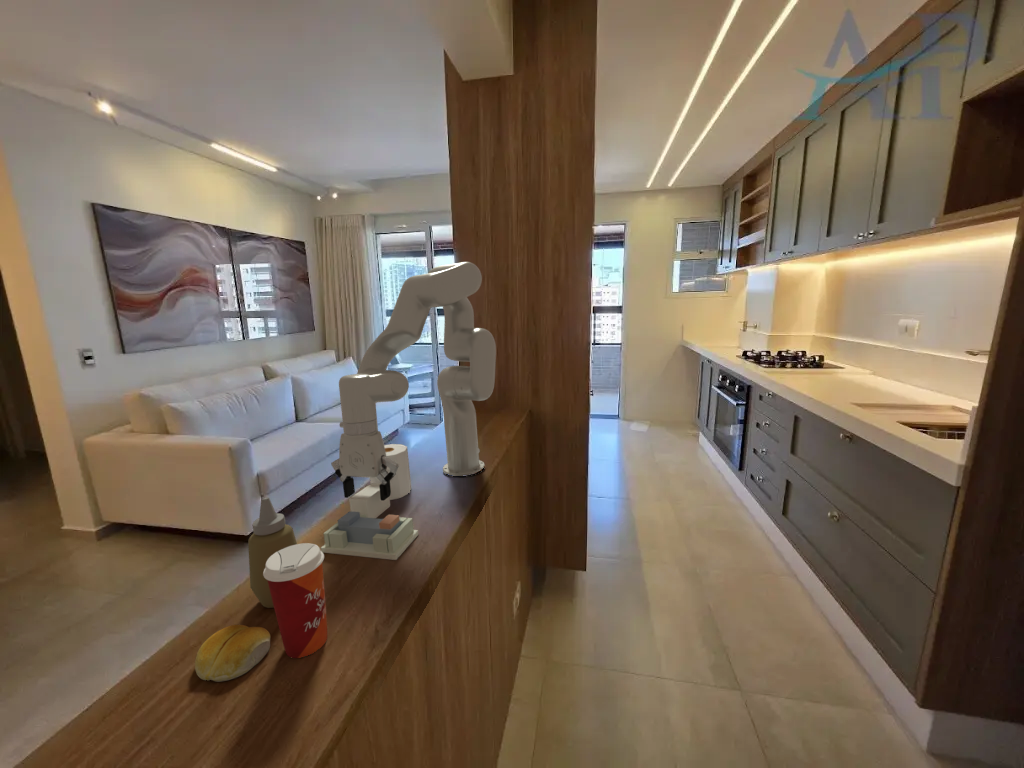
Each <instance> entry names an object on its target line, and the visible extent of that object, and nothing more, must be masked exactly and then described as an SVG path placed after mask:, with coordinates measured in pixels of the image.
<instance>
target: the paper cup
mask: <svg viewBox="0 0 1024 768" xmlns="http://www.w3.org/2000/svg"><path fill="white" fill-rule="evenodd" d="M324 559H325V554H324V553H323V552H322V551H321V547H320V546H318V545H317V544H315V543H308V542H302V543H297V544H296V545H292V546H289V547H286V548H284V549H282V550H279V551H277V552H276V553H274V554H273V555H272V556H270V557H269V559H268V560H267V562H266V566H265V569H264V572H263V576H264V578H265V579H267V581H268V585H269V589H270V593H271V597H272V601H273V605H274V608H273V609H274V612H275V613H274V614H275V616H276V621H277V626H278V629H279V633H280V637H281V640H282V644H283V648H284V651H285V654H286V655H287V656H288V657H289V658H291V657H292V658H291V659H302V658H301V657H303V658H305V657H304V656H307V657H309V656H311V655H313V654H315V653H317V652H318V651H319V650H320V649H321V648H323V646H324V645H325V643H326V642H327V639H328V620H327V605H326V595H325V594H326V593H325V582H324V581H325V580H324V566H323V562H324ZM318 649H319V650H318ZM317 650H318V651H317ZM314 652H315V653H314ZM312 653H313V654H312ZM310 654H311V655H310ZM308 655H309V656H308Z"/></svg>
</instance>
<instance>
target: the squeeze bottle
mask: <svg viewBox="0 0 1024 768" xmlns="http://www.w3.org/2000/svg"><path fill="white" fill-rule="evenodd" d="M252 522H253V523H252V524H251V525H252V530H253V533H252V534H251V535H250V536H249V538H248V542H247V543H248V545H247V546H248V547H247V548H248V566H249V567H248V569H249V585H250V589H251V591H252V592H253V595H255V597H256V598H257V599H258V601H259V602H260V604H261V605H262V607H264V608H267V609H272V608H273V609H274V605H273V601H272V597H271V593H270V589H269V585H268V581H267V579H265V578H264V576H263V572H264V569H265V566H266V562H267V560H268V559H269V557H270V556H272V555H273V554H274V553H276V552H277V551H279V550H282V549H284V548H286V547H289V546H292V545H296V544H298V542H297V538H296V535H295V532H294V529H293V527H292V526H291V525H289V524H286V517H285V515H284V514H283V513H278V512H276V510H275V508H274V505H273V504H272V501H271V499H270V497H264V498H262V499H260V507H259V517H257V519H255V520H254V521H252Z"/></svg>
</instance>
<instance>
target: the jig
mask: <svg viewBox="0 0 1024 768" xmlns="http://www.w3.org/2000/svg"><path fill="white" fill-rule="evenodd" d="M360 517H364V518H366V515H364V514H360ZM399 519H400V523H401V526H400V527H399V528H398V529H397V530H396V531H395V532H394V533H393V534H392V535H391V536H390V535H386V534H376V535H375V536H374V537H373V544H364V543H353V542H348V541H347V533H346V531H340V530H339V527H338V521H337V522H336V523H335V524H333V525H332V526H330V528H328V529H327V530H326V531H324V532H323V540H324V545H322V546H321V547H320V551H322V552H323V554H324V553H325V554H333V555H334V554H335V555H342V556H343V555H344V556H353V557H362V558H373V559H383V560H393V561H397V560H398V559H399V558H400V556H401V555H402V554H403V553H404V552H405V550H407V548H408V547H409V546H410V545H411V544H412V543H413V542H414V541H415V539H416V538H417V537H418V536H419V529H414V519H413V517H401V516H399Z"/></svg>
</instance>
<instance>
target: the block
mask: <svg viewBox="0 0 1024 768" xmlns="http://www.w3.org/2000/svg"><path fill="white" fill-rule="evenodd" d="M380 484H381V483H371V484H368V485H367V486H366V487H364V488H362V489H361V490H359V491H358V492H357V493H354V495H351V496H350V497H348V501H349V508H350V510H349V511H352V512H360V514H364V515H366V518H377V519H378V517H379V516H380V515H381V514H383V513H384V512H385V511H386V510H387V509H389V508H390V507H391V500H390V499H389V497H388V498H387V499H385V500H384V501H382V500H381V498H380V487H379V485H380Z"/></svg>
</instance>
